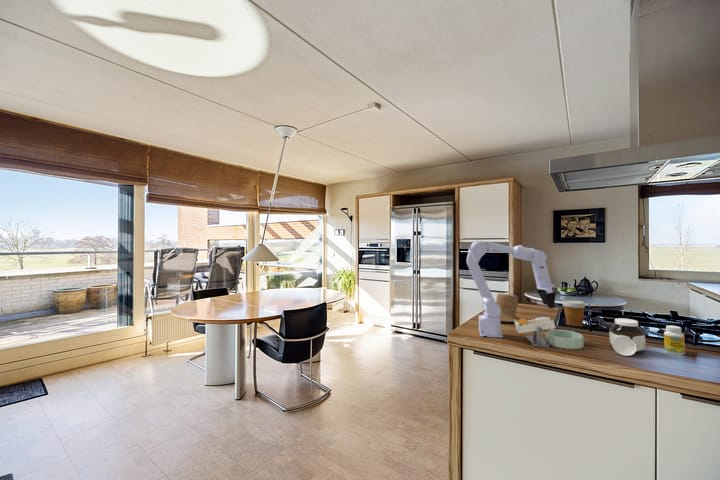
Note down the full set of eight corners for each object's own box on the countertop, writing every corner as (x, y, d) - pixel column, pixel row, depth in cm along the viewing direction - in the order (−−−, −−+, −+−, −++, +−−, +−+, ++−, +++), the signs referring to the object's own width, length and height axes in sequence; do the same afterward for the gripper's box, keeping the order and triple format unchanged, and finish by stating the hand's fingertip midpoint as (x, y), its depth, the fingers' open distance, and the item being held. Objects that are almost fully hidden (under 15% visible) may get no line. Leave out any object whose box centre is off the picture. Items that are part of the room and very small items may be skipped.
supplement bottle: (679, 350, 116) (678, 325, 116) (688, 355, 112) (687, 329, 112) (661, 349, 118) (660, 324, 118) (669, 354, 113) (668, 328, 113)
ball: (519, 328, 131) (518, 319, 131) (517, 326, 135) (516, 317, 135) (529, 329, 130) (529, 319, 130) (527, 326, 134) (526, 317, 134)
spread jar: (636, 347, 121) (635, 318, 121) (656, 358, 110) (655, 326, 110) (601, 346, 124) (600, 317, 124) (617, 357, 113) (616, 325, 113)
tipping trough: (518, 333, 130) (516, 323, 130) (512, 323, 144) (510, 315, 144) (555, 327, 126) (552, 318, 126) (545, 318, 140) (543, 310, 140)
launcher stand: (533, 346, 126) (532, 327, 126) (526, 337, 138) (525, 320, 138) (549, 347, 124) (548, 328, 124) (541, 338, 136) (540, 320, 136)
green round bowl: (551, 347, 124) (551, 337, 124) (543, 337, 136) (542, 328, 136) (588, 349, 120) (588, 339, 120) (576, 339, 132) (575, 330, 132)
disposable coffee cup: (590, 328, 146) (589, 303, 146) (568, 328, 148) (567, 303, 148) (580, 323, 156) (579, 299, 156) (559, 323, 158) (558, 299, 158)
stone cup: (518, 319, 168) (517, 291, 168) (522, 324, 157) (521, 295, 157) (488, 317, 173) (487, 291, 173) (490, 323, 162) (489, 295, 162)
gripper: (557, 276, 130) (564, 308, 129) (547, 272, 144) (554, 301, 143) (538, 279, 132) (546, 310, 131) (530, 275, 146) (537, 303, 145)
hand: (549, 306), depth 137 cm, fingers open, 7 cm apart
